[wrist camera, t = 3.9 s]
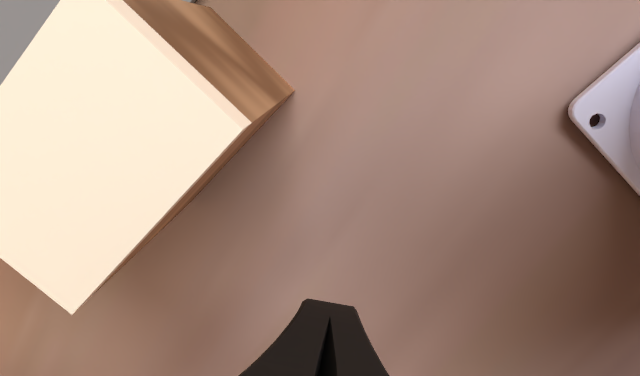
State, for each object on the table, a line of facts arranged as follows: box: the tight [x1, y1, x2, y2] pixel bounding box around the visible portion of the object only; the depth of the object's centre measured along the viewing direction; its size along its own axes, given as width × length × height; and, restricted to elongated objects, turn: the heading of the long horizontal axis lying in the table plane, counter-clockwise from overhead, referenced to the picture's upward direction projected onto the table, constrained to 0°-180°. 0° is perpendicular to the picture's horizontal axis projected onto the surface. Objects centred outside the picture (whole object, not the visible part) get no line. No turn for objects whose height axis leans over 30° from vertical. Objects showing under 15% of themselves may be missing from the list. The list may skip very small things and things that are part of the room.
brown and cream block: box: [0, 0, 295, 314], centre depth 13 cm, size 4×6×8 cm, turn 136°
